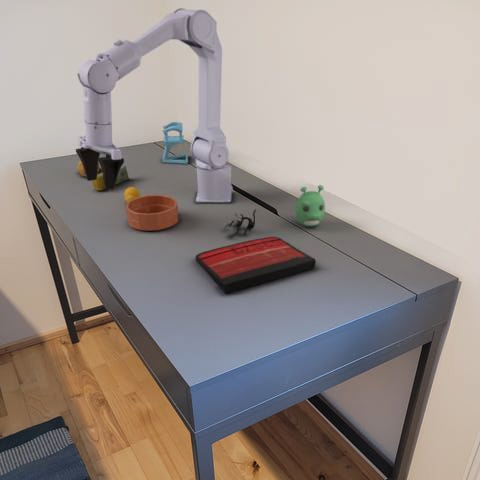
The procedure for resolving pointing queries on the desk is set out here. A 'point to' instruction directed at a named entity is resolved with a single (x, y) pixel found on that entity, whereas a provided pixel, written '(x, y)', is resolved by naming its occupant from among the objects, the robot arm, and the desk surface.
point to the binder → (253, 263)
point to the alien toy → (310, 207)
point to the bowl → (152, 212)
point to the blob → (131, 194)
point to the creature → (249, 227)
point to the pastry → (81, 169)
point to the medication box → (120, 178)
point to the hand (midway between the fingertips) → (100, 184)
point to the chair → (173, 143)
